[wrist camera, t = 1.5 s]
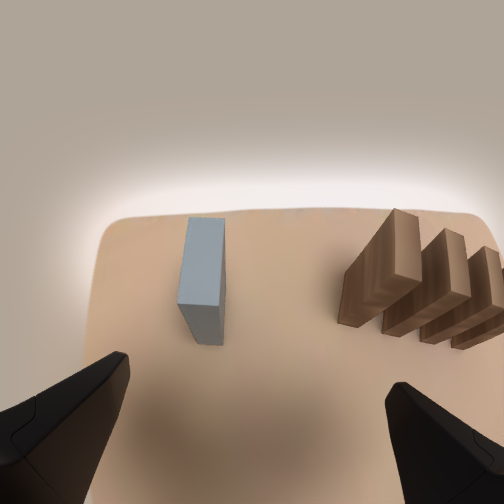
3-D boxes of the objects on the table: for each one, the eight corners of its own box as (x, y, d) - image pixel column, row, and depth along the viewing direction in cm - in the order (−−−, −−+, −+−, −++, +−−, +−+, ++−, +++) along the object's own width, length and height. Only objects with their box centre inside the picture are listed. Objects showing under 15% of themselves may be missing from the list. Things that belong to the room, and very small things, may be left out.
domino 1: (198, 344, 22) (176, 303, 13) (202, 286, 24) (188, 217, 16) (223, 345, 22) (218, 305, 13) (225, 288, 24) (224, 218, 16)
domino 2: (337, 323, 23) (394, 273, 15) (344, 273, 26) (394, 208, 17) (357, 327, 23) (422, 281, 15) (363, 278, 26) (418, 217, 17)
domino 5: (451, 347, 22) (522, 314, 14) (451, 303, 25) (513, 260, 16) (463, 349, 22) (532, 317, 14) (463, 307, 25) (524, 266, 16)
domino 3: (381, 333, 23) (451, 290, 14) (385, 284, 26) (444, 227, 17) (399, 337, 23) (471, 297, 14) (402, 289, 25) (463, 235, 17)
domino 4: (419, 341, 23) (492, 304, 14) (421, 295, 25) (484, 245, 17) (434, 344, 23) (506, 309, 14) (435, 299, 25) (498, 252, 16)
